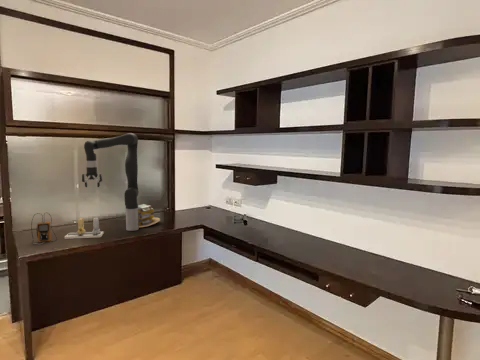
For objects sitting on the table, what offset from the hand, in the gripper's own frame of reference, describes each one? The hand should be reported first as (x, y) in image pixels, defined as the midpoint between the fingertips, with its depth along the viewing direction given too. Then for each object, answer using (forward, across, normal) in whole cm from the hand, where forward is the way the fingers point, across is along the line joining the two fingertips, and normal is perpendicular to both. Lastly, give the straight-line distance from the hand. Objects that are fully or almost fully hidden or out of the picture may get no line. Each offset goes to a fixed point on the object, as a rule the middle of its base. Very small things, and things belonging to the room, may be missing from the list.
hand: (92, 187), depth 254 cm
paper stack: (+33, +38, +7) cm, 51 cm away
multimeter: (+33, -25, -33) cm, 53 cm away
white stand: (+33, -2, -21) cm, 39 cm away
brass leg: (+31, -4, -22) cm, 38 cm away
